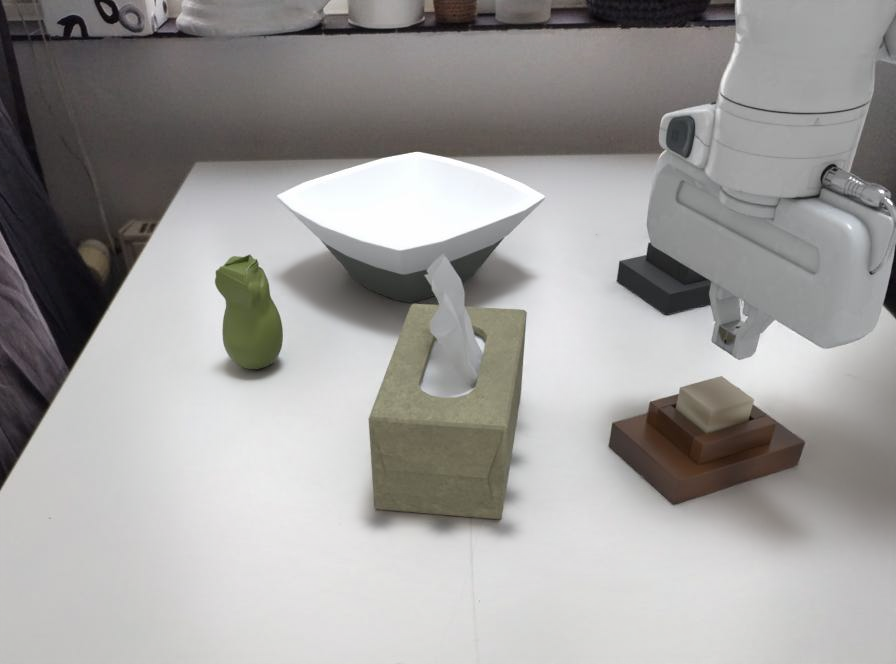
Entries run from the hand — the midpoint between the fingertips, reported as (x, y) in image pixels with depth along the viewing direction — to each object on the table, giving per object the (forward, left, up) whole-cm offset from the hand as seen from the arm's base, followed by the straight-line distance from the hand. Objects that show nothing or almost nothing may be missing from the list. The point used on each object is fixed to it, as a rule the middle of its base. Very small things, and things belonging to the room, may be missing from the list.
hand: (732, 350), depth 66 cm
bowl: (+21, -37, -9) cm, 44 cm away
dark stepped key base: (-8, -31, -9) cm, 33 cm away
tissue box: (+20, -3, -9) cm, 23 cm away
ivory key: (0, 0, -6) cm, 6 cm away
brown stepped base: (0, 0, -9) cm, 9 cm away
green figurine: (+37, -19, -9) cm, 43 cm away
